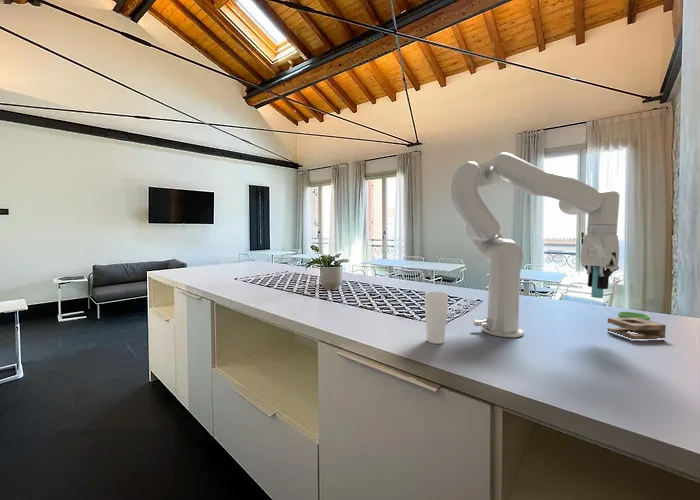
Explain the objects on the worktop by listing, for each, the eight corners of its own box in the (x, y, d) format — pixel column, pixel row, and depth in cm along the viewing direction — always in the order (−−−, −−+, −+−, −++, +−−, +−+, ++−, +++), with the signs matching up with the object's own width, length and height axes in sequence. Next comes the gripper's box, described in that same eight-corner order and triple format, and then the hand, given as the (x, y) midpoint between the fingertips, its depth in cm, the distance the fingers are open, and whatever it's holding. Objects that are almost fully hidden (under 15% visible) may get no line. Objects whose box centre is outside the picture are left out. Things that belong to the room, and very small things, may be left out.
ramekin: (636, 323, 122) (637, 311, 121) (657, 330, 113) (657, 318, 112) (611, 322, 123) (611, 311, 122) (629, 329, 114) (630, 317, 113)
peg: (596, 298, 102) (598, 266, 102) (588, 296, 105) (591, 265, 105) (605, 298, 103) (607, 267, 102) (597, 296, 106) (599, 266, 105)
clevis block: (632, 341, 101) (632, 325, 100) (607, 332, 110) (607, 318, 109) (664, 340, 101) (665, 325, 101) (637, 332, 110) (638, 317, 110)
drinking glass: (447, 339, 102) (448, 292, 101) (446, 346, 95) (447, 296, 95) (425, 337, 104) (426, 291, 103) (423, 343, 98) (423, 294, 97)
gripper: (571, 230, 111) (567, 283, 112) (613, 230, 94) (608, 292, 95) (591, 231, 111) (588, 283, 112) (637, 231, 95) (632, 292, 96)
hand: (597, 287), depth 104 cm, fingers closed on peg, 3 cm apart
